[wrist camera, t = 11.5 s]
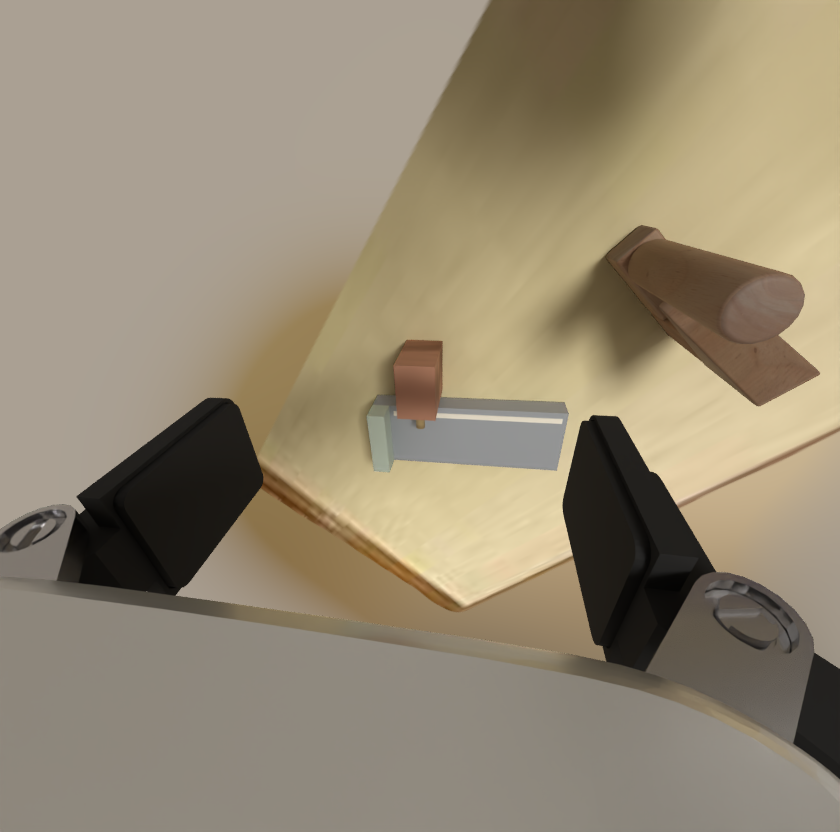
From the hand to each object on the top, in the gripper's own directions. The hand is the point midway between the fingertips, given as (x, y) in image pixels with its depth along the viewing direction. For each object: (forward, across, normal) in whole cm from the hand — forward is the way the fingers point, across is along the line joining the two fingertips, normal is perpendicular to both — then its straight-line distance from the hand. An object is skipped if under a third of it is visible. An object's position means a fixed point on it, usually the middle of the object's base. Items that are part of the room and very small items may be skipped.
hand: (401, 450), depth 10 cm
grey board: (+30, -1, +19) cm, 36 cm away
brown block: (+30, +4, +12) cm, 33 cm away
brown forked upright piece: (+30, -18, +2) cm, 35 cm away
